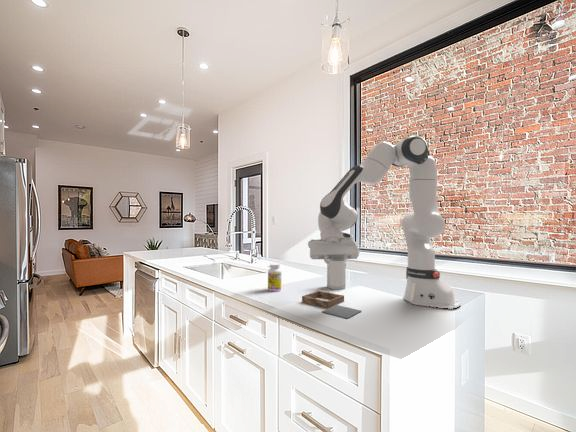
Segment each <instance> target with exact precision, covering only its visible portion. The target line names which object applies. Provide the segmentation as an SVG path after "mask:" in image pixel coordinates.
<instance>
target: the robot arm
mask: <svg viewBox="0 0 576 432" xmlns="http://www.w3.org/2000/svg"><path fill="white" fill-rule="evenodd" d="M392 166H393V167H398V168H400V167H405V166H407V168H408V170H409V190H408V191H409V192H408V196H409V197H408V198H409V201H410V202H411V205H412V210H413V212H410V213H408V214H406V215H404V216H403V217H402V219H401V223H400V226H401V229H402V230H403V233H404V237H405V243H406V248H407V266H406V270H405V271H406V272H405V279H406V285H405V290H404V295H403V298H402V299H403V300H405V301H407V302H409V303H410V304H412V305H414V306H415V305H416V306H422V307H423V306H424V307H429V306H430V307H429V308H436V307H438V309H443V308H448V309H447V310H451V309H452V308H456V307H459V306H460V307H461V305H460V304H461V301H459V300H458V299H456V298H455V293H454V290H453V288H452V287H450V285H449V284H447V283H446V282H444V280H443V279H441V278H440V275H441V271H440V270H438V269H436V263H435V262H436V252H435V249H434V247H433V245H432V243H431V238H436V237H438V236H441V235H442V234H443V233H444V231H445V230H446V229H445V228H446V221H445V218H443V216H442V214H441V212H440V209H439V203H438V199H437V197H438V196H437V195H438V194H437V188H438V186H437V184H438V171H437V170H438V169H437V163H436V159H435V158H433V157H432V156H430V151H429V146H428V143H427V141H426V139H425V138H424V137H422V136H420V135H411V136H408V137H406V138H403V139H401V140H399V141H398V142H397V143H395V144H392V143H391V142H388V141H380V142H378V143H377V144H376V145H374V146H373V148H372V149H371V150H370V151H369V153H368V154H367V155H366V157H365V159H364V160H363V161H362V162H361V163H360V164H357V165H354V166H353V167H351V168H350V169H349V170H348V171H347V172H346V173H345V175H343V177H342V178H340V181H338V182H337V184H336V185H335V186H334V187H333V189H332V190H330V192H329V193H327V194H326V195H325V196H324V197H322V199H321V201H320V204H319V210H320V212H319V213H318V217H317V223H318V229H319V232H320V239H310V240H309V241H308V242H307V247H308V248H309V258H310V259H311V260H323V261H324V263H325V264H326V265H328V267H329V266H330V264H329V259H330V258H343V259H345V267H347V263H346V262H347V260H357V259H358V257H359V255H360V249H359V247H358V244H357V242H356V241H355V240H354V235H353V234H351V233H347V232H344V231H346V230H349V229H350V228H352V227H354V226H355V224H356V223H357V221H358V218H359V217H358V215H359V214H358V211H357V210H356V209H355V208H354V207H352V206H351V205H349V204H348V203H347V202H346V201H345V200H344V197H345V196H346V195H347V193H348V192H349V191H350V190H351V188H353V187H354V185H355V184H357V183H359V182H360V183H363V184H369V185H374V184H378V183H380V182H382V180H383V179H384V178H385V176H386V175H387V173H388V171H389V170H390V168H391V167H392ZM460 307H459V308H460ZM452 310H453V309H452Z"/></svg>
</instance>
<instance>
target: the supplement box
mask: <svg viewBox="0 0 576 432" xmlns="http://www.w3.org/2000/svg"><path fill="white" fill-rule="evenodd" d="M326 265H327V264H326ZM346 267H347V266H346ZM346 267H345V270H346ZM326 286H327V288H329V289H331V290H346V278H345V279H344V285H343V286H332V285H330V278H329V267H328V265H327V266H326Z"/></svg>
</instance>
